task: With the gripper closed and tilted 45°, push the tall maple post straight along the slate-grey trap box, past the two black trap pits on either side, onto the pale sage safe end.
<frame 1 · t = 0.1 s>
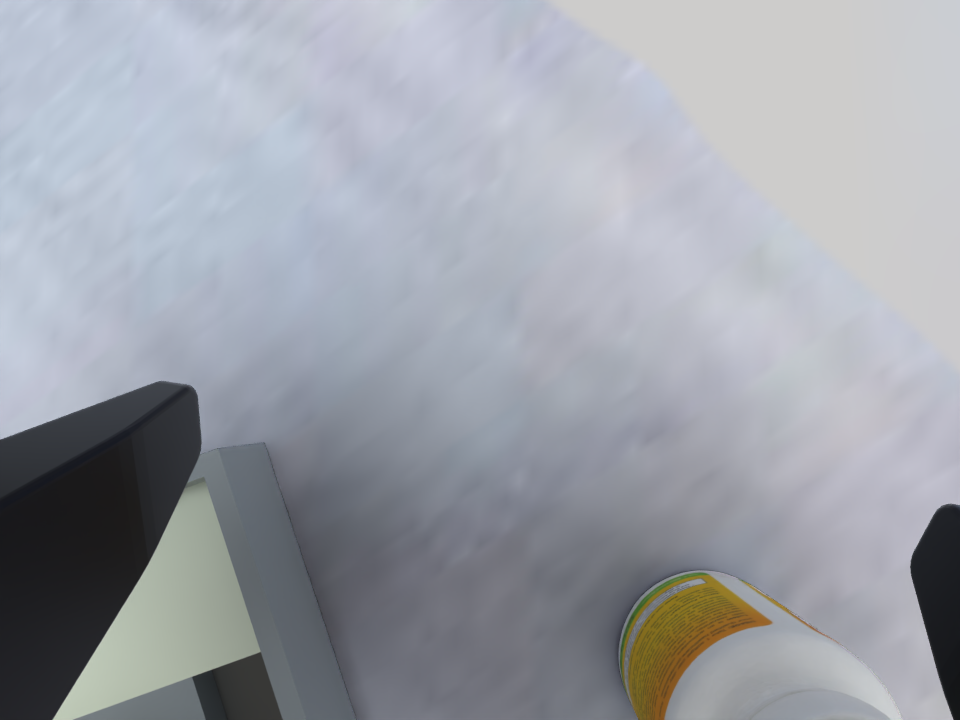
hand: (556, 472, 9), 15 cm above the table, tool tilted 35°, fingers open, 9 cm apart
supplement bottle: (699, 651, 23), on the table
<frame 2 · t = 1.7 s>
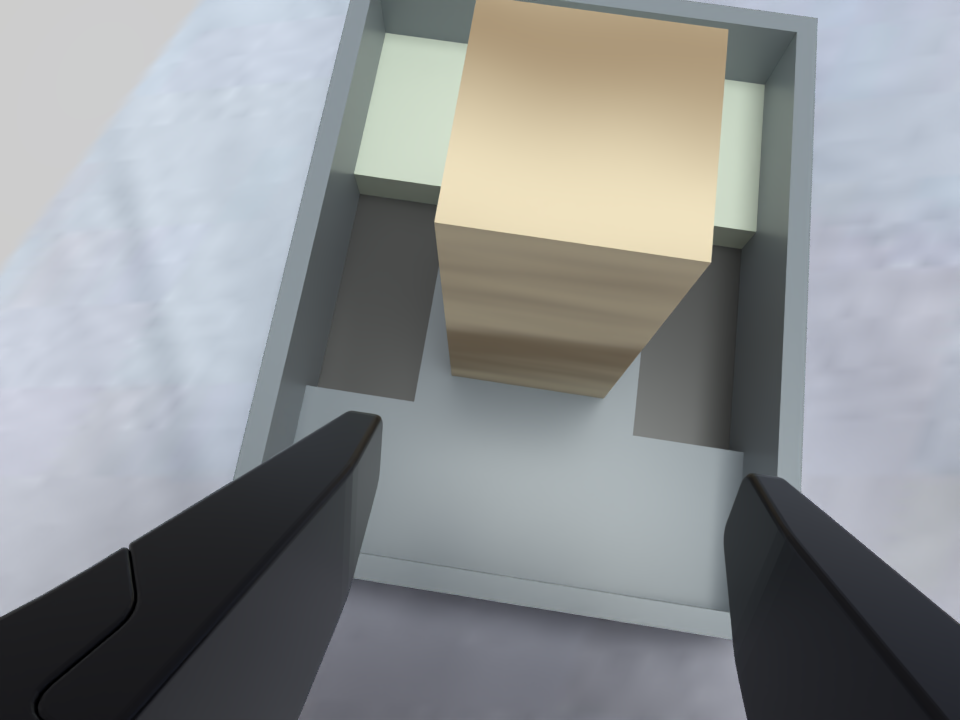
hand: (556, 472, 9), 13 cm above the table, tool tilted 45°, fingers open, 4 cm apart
trap box: (536, 307, 24), on the table
maple post: (537, 315, 22), point 1 cm above the table, touching trap box
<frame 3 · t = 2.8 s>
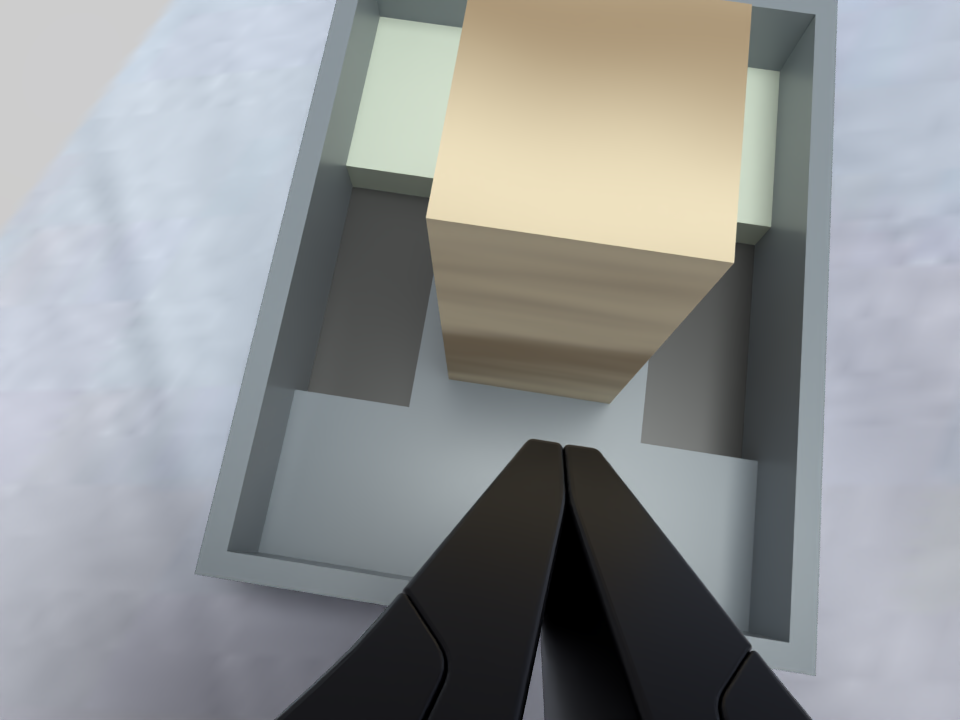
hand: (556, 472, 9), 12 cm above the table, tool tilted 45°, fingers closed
trap box: (538, 306, 22), on the table
maple post: (539, 315, 21), point 1 cm above the table, touching trap box
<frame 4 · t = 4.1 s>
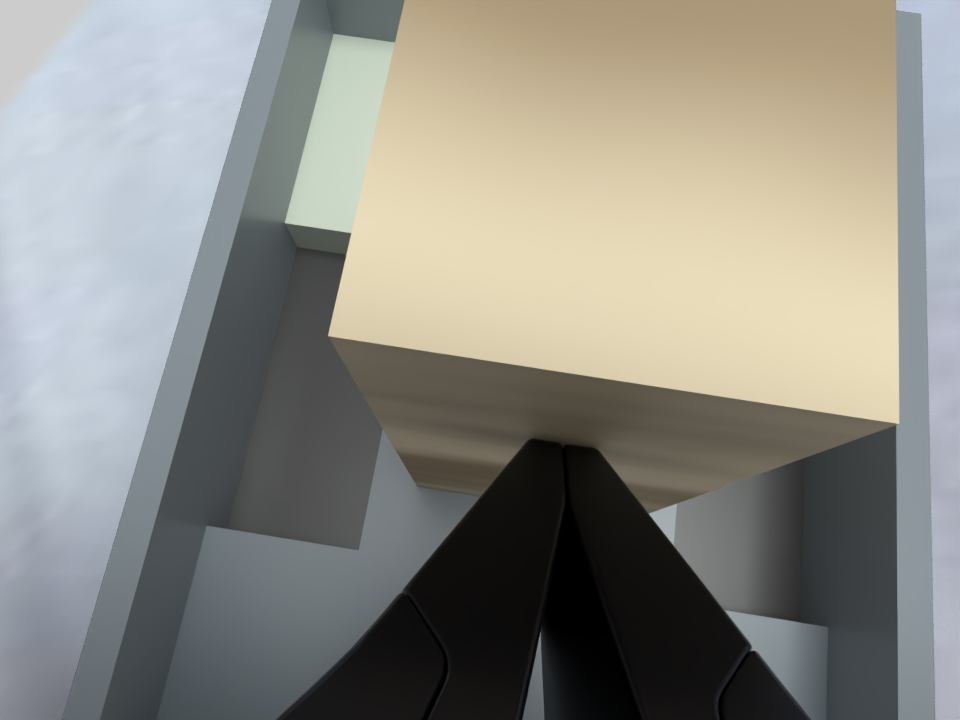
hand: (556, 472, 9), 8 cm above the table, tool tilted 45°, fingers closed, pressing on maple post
trap box: (533, 403, 17), on the table
maple post: (537, 400, 16), point 1 cm above the table, touching gripper, trap box
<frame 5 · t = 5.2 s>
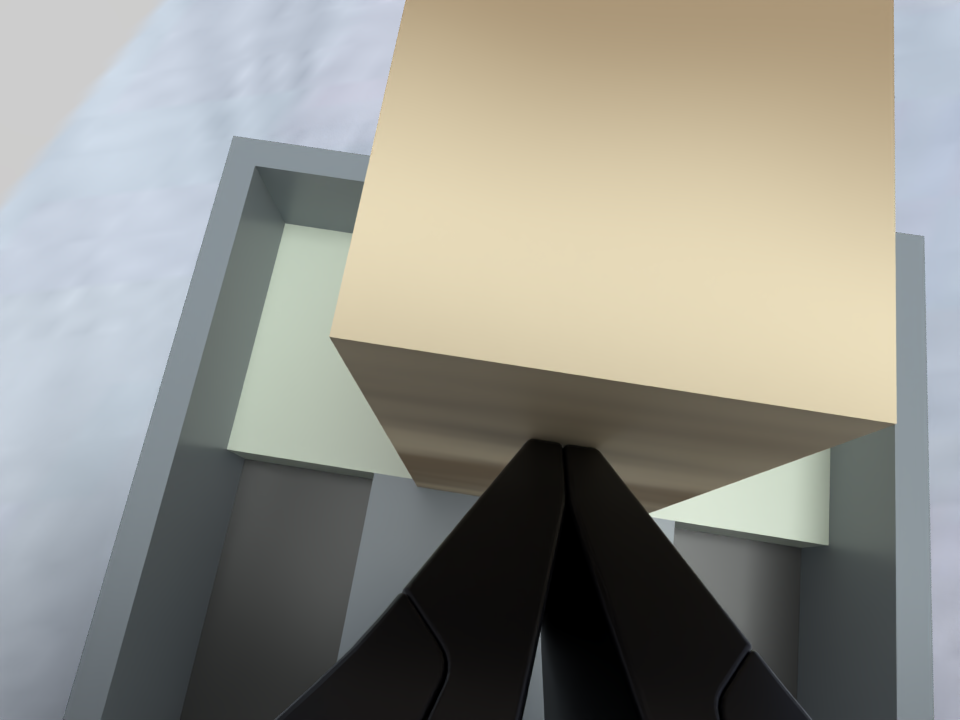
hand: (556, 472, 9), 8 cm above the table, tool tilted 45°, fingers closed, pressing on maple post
trap box: (499, 641, 16), on the table
maple post: (536, 400, 16), point 1 cm above the table, touching gripper, trap box
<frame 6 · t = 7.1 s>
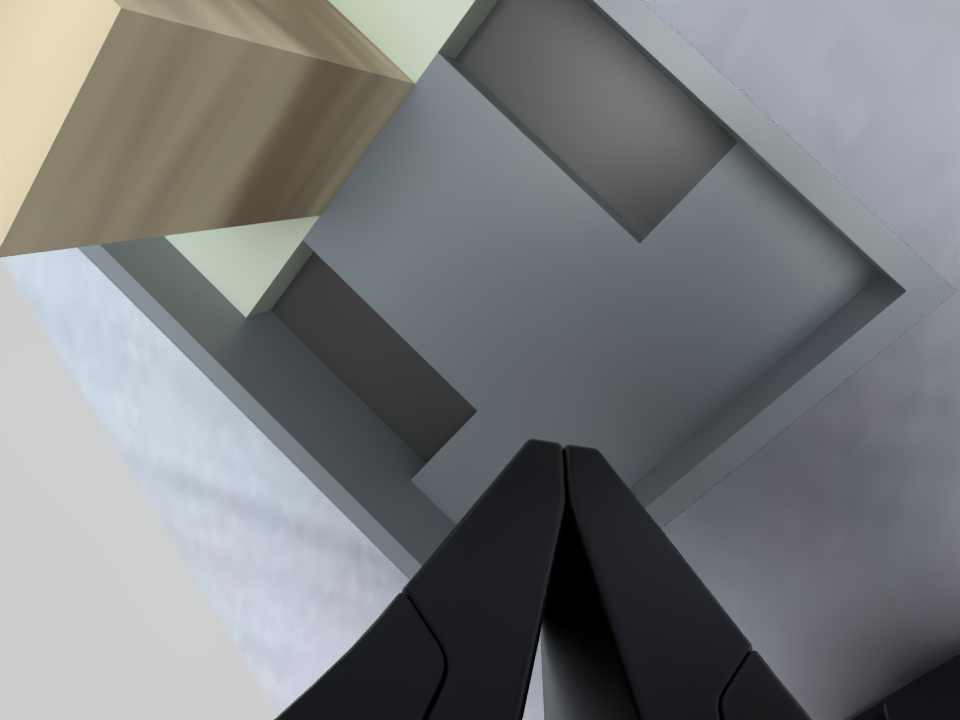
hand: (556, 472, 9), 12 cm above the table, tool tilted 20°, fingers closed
trap box: (463, 224, 21), on the table
maple post: (307, 95, 20), point 1 cm above the table, touching trap box
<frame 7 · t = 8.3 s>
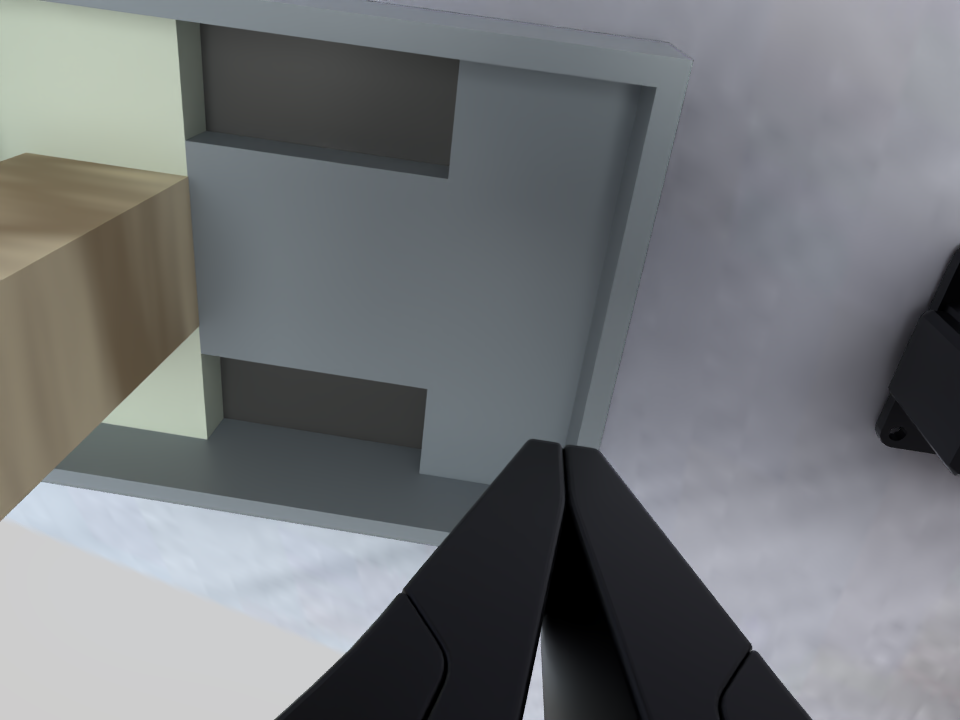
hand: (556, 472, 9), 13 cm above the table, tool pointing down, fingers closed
trap box: (313, 252, 22), on the table
maple post: (116, 243, 21), point 1 cm above the table, touching trap box
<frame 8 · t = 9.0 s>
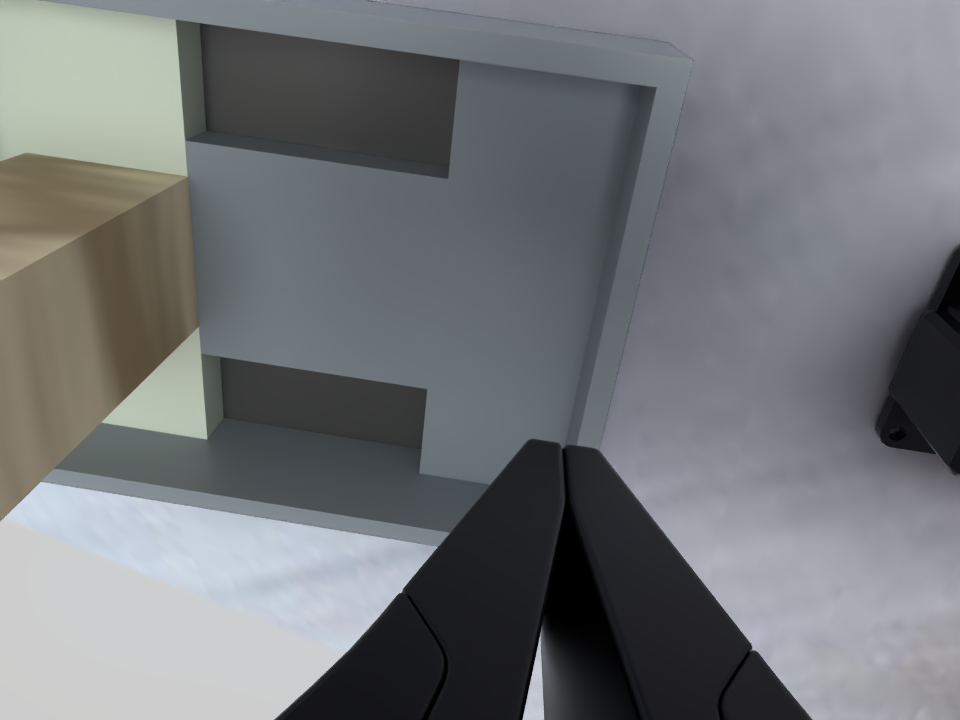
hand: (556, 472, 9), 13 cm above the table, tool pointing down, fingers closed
trap box: (313, 252, 22), on the table
maple post: (116, 243, 21), point 1 cm above the table, touching trap box
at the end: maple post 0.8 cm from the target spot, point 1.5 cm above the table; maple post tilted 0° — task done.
